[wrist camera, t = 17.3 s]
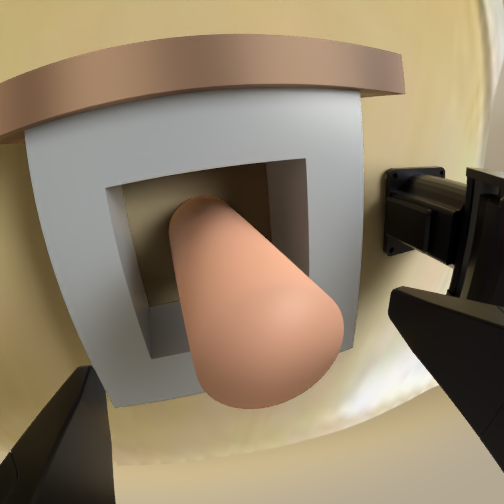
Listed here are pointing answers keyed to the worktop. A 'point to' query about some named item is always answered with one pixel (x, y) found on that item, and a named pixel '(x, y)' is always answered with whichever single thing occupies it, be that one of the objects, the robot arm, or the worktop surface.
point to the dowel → (248, 309)
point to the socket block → (181, 161)
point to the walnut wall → (191, 74)
